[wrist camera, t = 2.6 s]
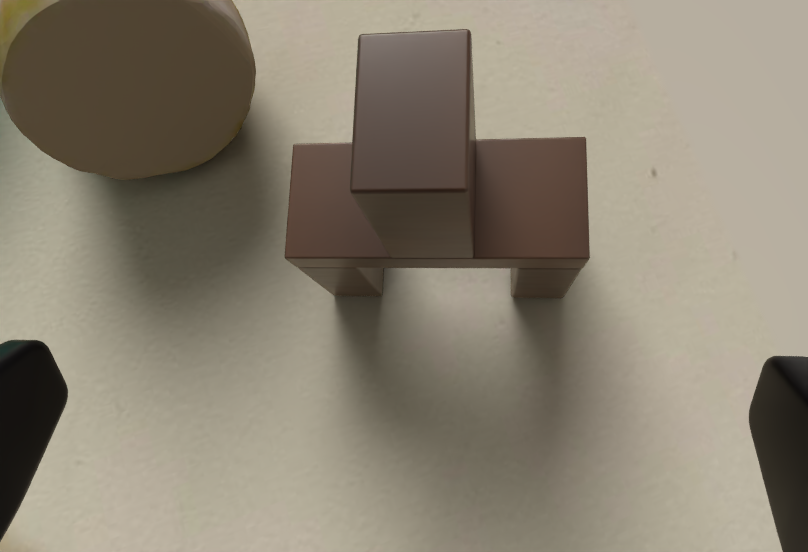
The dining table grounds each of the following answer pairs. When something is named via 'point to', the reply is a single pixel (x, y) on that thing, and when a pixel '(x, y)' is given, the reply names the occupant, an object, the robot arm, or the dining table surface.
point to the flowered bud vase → (126, 81)
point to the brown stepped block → (434, 182)
